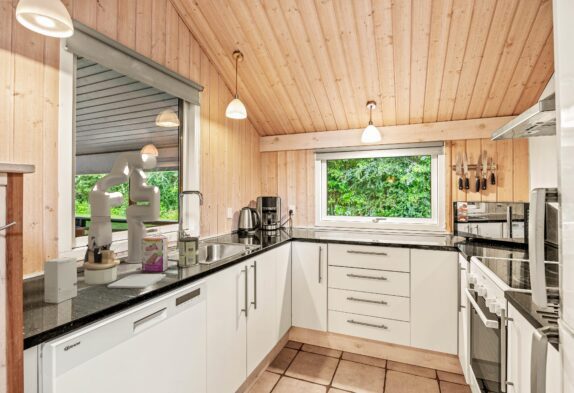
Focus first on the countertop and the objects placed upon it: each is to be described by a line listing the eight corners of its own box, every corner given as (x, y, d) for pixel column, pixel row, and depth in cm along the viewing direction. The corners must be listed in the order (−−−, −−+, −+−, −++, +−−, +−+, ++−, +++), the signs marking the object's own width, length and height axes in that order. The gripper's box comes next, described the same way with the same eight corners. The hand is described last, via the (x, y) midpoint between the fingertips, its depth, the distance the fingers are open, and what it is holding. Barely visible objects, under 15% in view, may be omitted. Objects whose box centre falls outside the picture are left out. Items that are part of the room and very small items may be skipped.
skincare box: (57, 304, 108) (56, 261, 107) (43, 302, 109) (42, 260, 108) (78, 295, 116) (77, 256, 115) (64, 294, 117) (64, 255, 117)
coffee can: (190, 261, 171) (190, 236, 171) (202, 264, 166) (202, 238, 165) (174, 265, 163) (174, 238, 163) (186, 268, 157) (186, 240, 157)
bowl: (97, 276, 142) (97, 263, 142) (122, 277, 141) (122, 263, 141) (78, 284, 130) (78, 270, 130) (105, 285, 129) (105, 270, 129)
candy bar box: (141, 271, 150) (140, 238, 150) (146, 269, 155) (146, 236, 155) (163, 272, 149) (162, 238, 149) (168, 269, 154) (167, 236, 154)
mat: (132, 275, 144) (132, 273, 144) (165, 276, 142) (165, 274, 142) (107, 287, 126) (107, 285, 126) (145, 288, 124) (145, 286, 124)
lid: (97, 262, 143) (97, 247, 143) (126, 263, 142) (126, 248, 142) (74, 271, 129) (74, 254, 129) (106, 272, 128) (106, 254, 128)
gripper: (105, 217, 143) (106, 256, 144) (78, 222, 127) (79, 266, 127) (120, 217, 143) (121, 257, 144) (95, 222, 126) (96, 266, 127)
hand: (101, 260), depth 135 cm, fingers closed on lid, 4 cm apart
